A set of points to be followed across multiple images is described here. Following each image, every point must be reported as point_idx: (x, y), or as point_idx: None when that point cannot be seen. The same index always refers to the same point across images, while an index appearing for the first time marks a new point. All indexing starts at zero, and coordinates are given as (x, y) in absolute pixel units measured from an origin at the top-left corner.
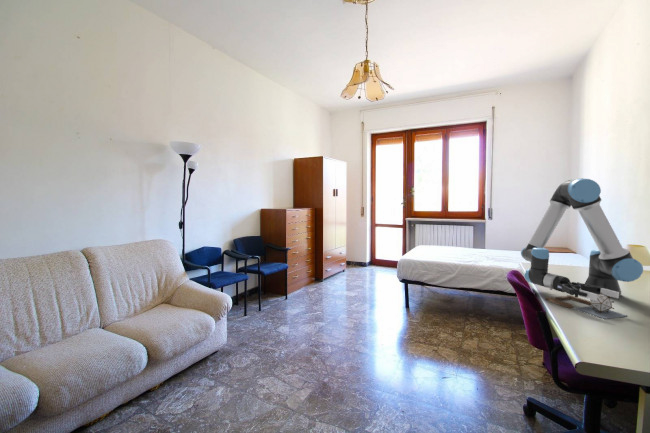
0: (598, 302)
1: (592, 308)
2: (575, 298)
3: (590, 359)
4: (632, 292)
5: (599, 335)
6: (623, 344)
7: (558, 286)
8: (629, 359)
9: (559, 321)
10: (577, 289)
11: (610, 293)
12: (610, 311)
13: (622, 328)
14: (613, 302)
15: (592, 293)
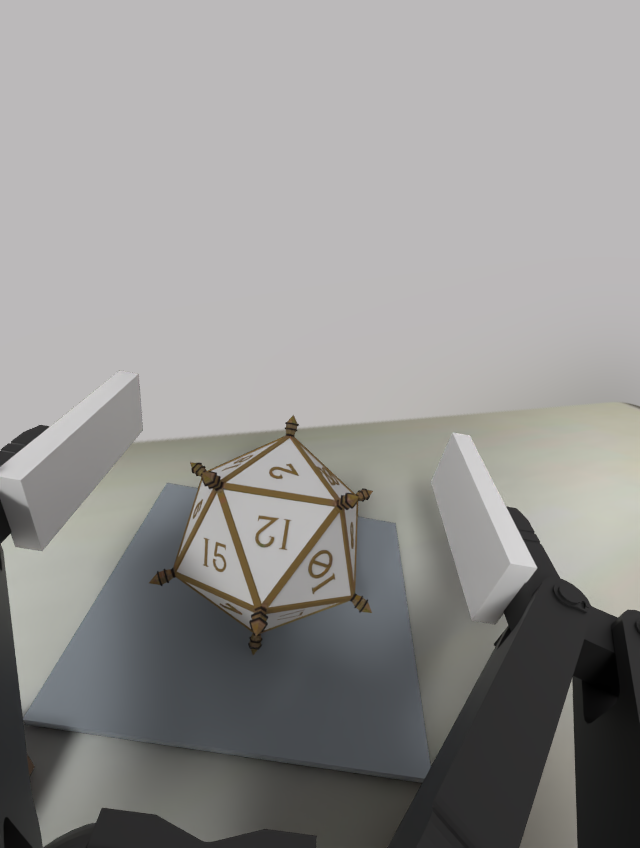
0: (354, 514)
1: (257, 646)
2: None
3: None
4: None
5: (603, 478)
6: (563, 434)
7: None
8: (617, 417)
9: None
10: (540, 604)
11: (105, 439)
12: (162, 556)
13: (426, 460)
14: (197, 468)
15: (479, 456)
